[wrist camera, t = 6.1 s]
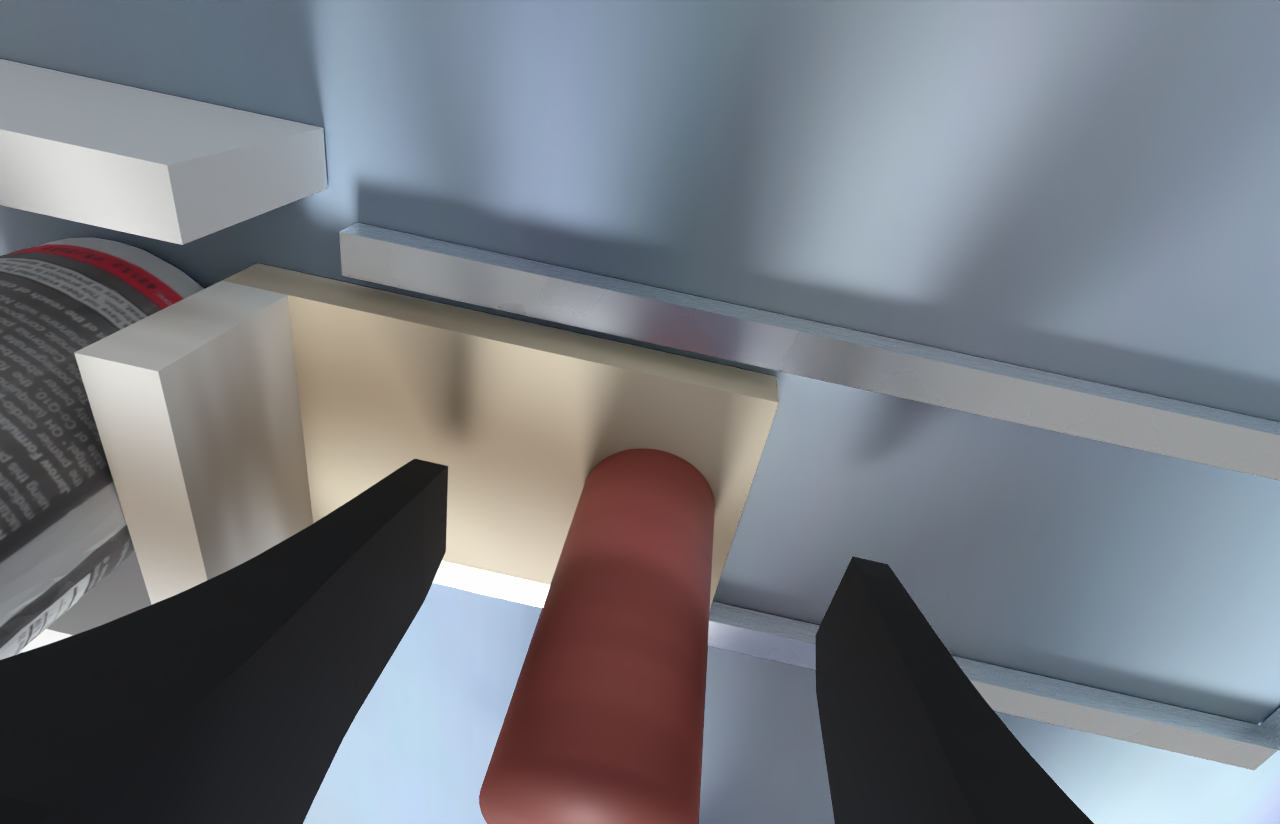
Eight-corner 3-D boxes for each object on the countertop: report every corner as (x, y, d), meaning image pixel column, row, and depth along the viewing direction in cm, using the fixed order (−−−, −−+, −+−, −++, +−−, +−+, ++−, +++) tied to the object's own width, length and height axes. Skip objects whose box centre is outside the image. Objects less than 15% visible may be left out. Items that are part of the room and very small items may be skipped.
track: (1270, 753, 15) (1289, 778, 15) (373, 548, 16) (360, 566, 15) (1584, 488, 11) (1623, 509, 11) (356, 222, 12) (339, 231, 11)
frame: (355, 587, 17) (272, 710, 14) (-1, 505, 17) (-161, 609, 14) (323, 127, 11) (167, 164, 8) (-215, 13, 11) (-564, 6, 8)
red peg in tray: (707, 587, 15) (686, 956, 9) (288, 492, 15) (-3, 791, 9) (775, 376, 12) (812, 713, 6) (257, 263, 12) (-192, 483, 6)
